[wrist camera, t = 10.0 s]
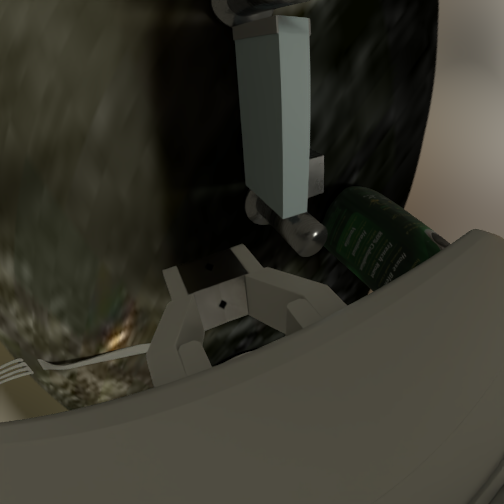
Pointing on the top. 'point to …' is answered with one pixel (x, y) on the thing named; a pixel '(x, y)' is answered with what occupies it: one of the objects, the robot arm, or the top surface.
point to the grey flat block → (275, 109)
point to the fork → (104, 357)
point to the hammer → (299, 226)
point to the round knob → (246, 10)
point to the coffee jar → (377, 236)
